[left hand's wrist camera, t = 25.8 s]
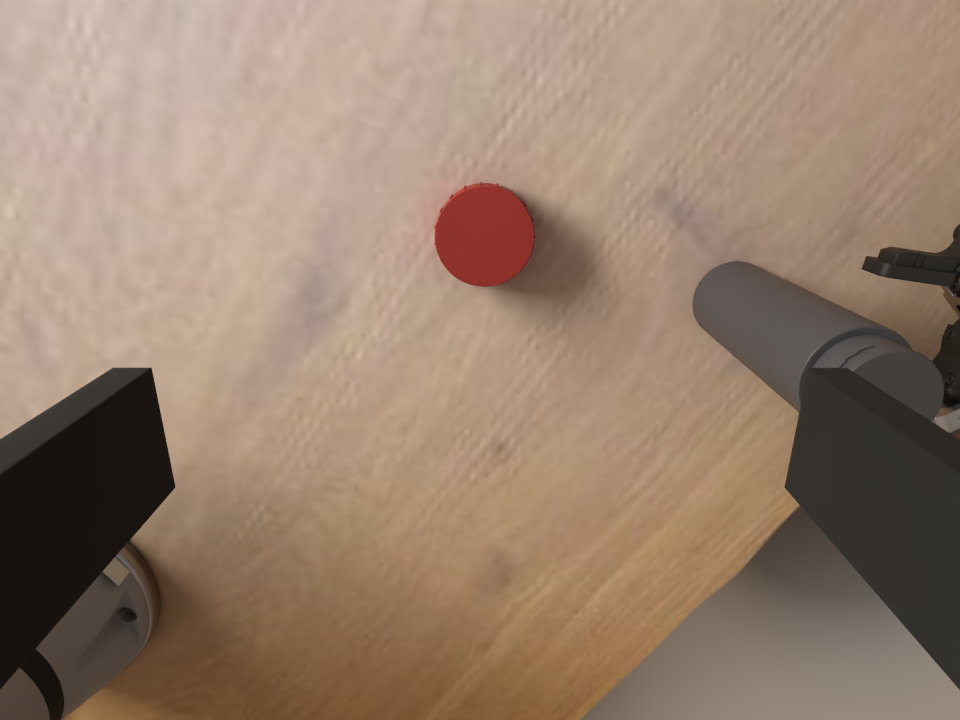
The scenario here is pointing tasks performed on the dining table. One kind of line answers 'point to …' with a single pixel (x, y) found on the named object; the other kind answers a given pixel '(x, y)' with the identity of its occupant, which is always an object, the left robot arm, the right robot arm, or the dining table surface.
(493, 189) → the lid
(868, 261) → the right robot arm
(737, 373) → the dining table surface
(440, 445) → the dining table surface
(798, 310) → the jar
